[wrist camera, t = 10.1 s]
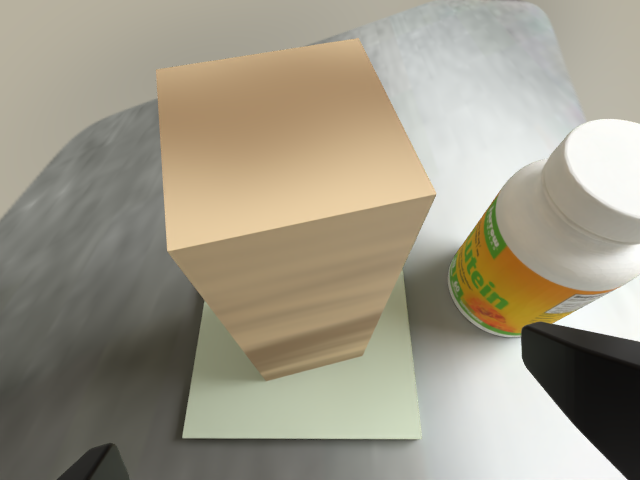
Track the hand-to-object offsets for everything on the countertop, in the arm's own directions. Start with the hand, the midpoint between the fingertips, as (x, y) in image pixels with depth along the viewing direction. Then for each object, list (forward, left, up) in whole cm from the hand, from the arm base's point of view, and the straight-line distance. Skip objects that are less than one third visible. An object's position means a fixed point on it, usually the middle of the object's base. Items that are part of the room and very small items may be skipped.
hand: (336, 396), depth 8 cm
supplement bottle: (+6, -9, -10) cm, 15 cm away
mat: (+4, +1, -10) cm, 11 cm away
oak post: (+4, +1, -9) cm, 10 cm away
